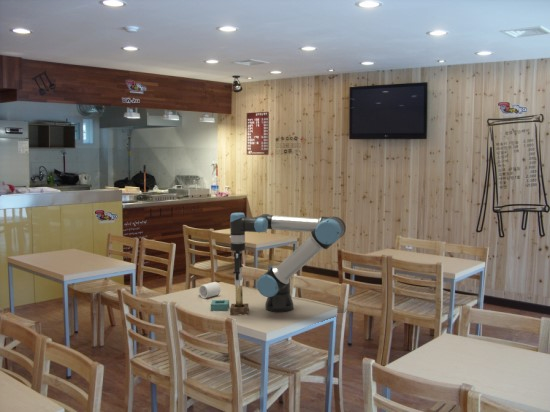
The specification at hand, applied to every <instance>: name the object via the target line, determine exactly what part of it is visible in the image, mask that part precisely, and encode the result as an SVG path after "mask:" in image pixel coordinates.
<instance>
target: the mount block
mask: <svg viewBox="0 0 550 412" xmlns="http://www.w3.org/2000/svg"><path fill="white" fill-rule="evenodd" d="M229 307H230V308H229V311H230V313H229V314H230V316H239V315H238V314H249V303H248V302H247V303H243V307H236V303H231V305H230V306H229Z"/></svg>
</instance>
